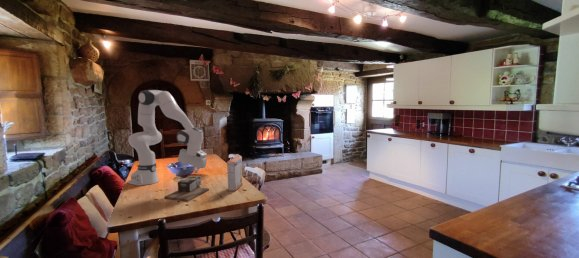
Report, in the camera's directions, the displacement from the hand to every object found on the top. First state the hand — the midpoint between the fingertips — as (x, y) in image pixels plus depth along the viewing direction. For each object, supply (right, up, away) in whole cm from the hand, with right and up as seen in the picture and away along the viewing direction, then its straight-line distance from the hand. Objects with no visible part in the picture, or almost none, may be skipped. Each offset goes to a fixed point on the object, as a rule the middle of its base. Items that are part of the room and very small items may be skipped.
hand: (190, 171), depth 187 cm
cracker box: (+29, -14, +8) cm, 33 cm away
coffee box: (0, -8, +13) cm, 15 cm away
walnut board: (0, -15, -4) cm, 15 cm away
